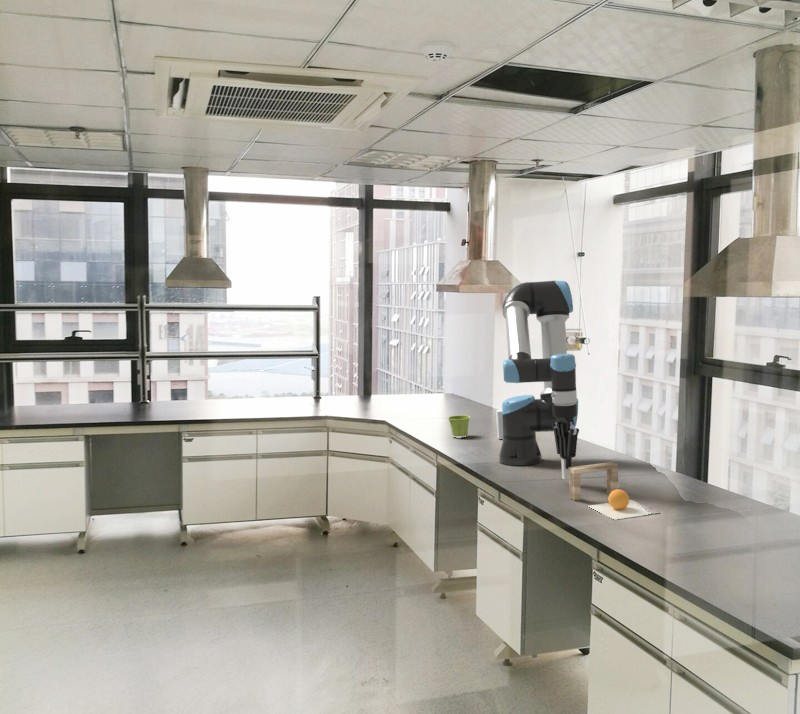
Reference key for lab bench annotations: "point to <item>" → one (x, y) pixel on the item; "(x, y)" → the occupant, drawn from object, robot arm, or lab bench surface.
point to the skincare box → (499, 424)
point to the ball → (618, 499)
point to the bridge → (575, 471)
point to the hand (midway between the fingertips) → (567, 478)
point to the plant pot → (459, 425)
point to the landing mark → (627, 512)
